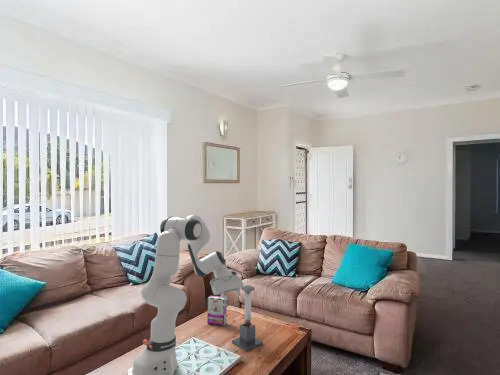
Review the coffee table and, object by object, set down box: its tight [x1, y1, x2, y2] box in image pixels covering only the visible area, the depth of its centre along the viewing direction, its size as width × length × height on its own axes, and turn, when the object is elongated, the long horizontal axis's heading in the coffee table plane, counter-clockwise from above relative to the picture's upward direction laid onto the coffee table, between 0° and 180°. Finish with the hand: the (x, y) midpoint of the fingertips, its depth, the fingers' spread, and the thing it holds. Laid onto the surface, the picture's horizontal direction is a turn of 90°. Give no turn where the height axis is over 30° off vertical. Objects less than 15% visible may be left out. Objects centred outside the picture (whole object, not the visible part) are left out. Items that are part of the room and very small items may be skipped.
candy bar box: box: [206, 295, 228, 327], centre depth 202 cm, size 11×5×16 cm, turn 73°
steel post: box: [241, 285, 256, 328], centre depth 177 cm, size 5×5×24 cm
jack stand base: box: [231, 323, 264, 352], centre depth 177 cm, size 12×12×11 cm
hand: (233, 297), depth 187 cm, fingers open, 8 cm apart
